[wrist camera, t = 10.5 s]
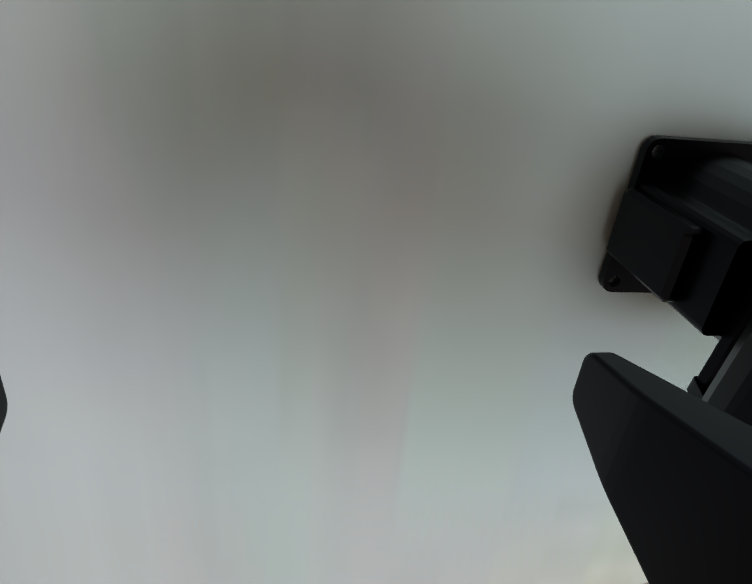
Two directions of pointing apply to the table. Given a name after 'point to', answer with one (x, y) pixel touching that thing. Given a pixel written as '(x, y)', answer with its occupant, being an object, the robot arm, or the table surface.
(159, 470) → the table surface
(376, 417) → the table surface
